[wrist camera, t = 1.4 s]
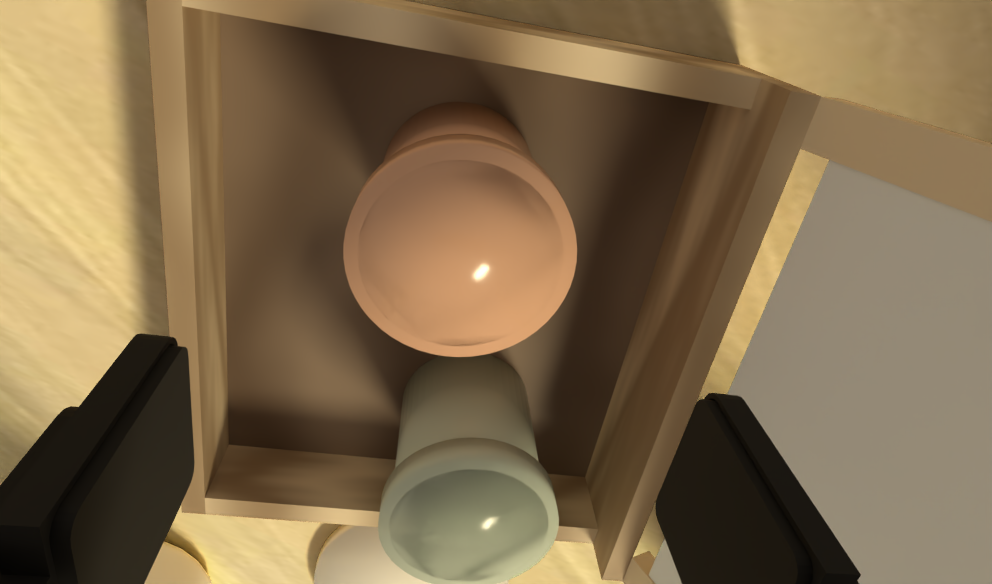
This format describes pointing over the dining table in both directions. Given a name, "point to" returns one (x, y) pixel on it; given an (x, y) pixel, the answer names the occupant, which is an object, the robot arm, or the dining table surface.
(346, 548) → the cream domed disc
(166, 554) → the potion bottle
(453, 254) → the terracotta pot
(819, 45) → the dining table surface
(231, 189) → the wooden tray
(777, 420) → the lid
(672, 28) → the dining table surface
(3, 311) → the dining table surface
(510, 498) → the sage pot
